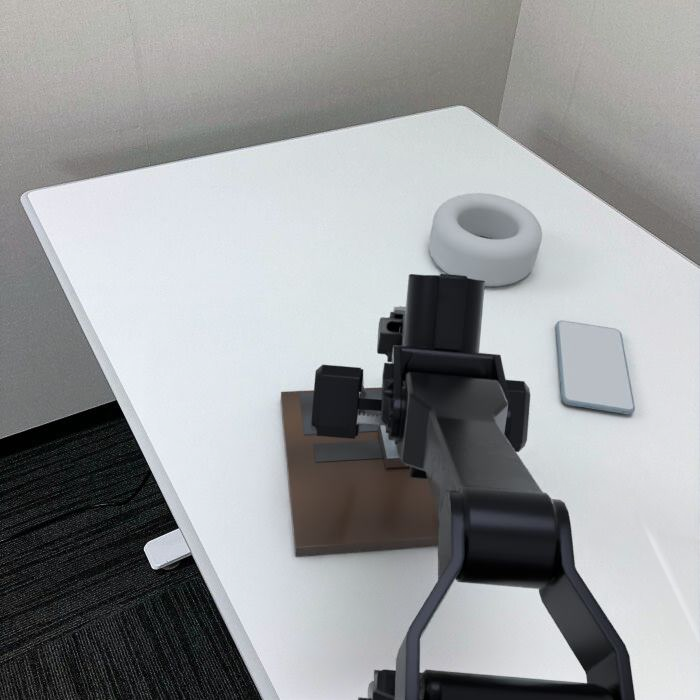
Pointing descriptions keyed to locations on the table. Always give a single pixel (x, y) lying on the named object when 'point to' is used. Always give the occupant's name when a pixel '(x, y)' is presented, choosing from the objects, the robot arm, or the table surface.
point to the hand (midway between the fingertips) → (410, 404)
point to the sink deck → (350, 489)
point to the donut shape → (481, 253)
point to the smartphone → (593, 367)
